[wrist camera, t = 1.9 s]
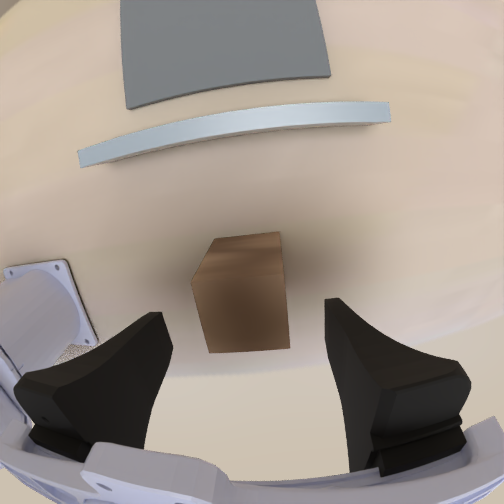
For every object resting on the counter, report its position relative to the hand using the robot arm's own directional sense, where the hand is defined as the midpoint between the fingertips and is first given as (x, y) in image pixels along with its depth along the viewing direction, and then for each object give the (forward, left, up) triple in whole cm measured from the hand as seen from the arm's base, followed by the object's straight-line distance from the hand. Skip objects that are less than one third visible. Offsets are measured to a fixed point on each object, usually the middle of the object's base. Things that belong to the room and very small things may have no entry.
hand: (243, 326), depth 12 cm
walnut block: (0, 0, -7) cm, 7 cm away
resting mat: (0, +17, -7) cm, 18 cm away
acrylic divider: (0, +8, -7) cm, 11 cm away
